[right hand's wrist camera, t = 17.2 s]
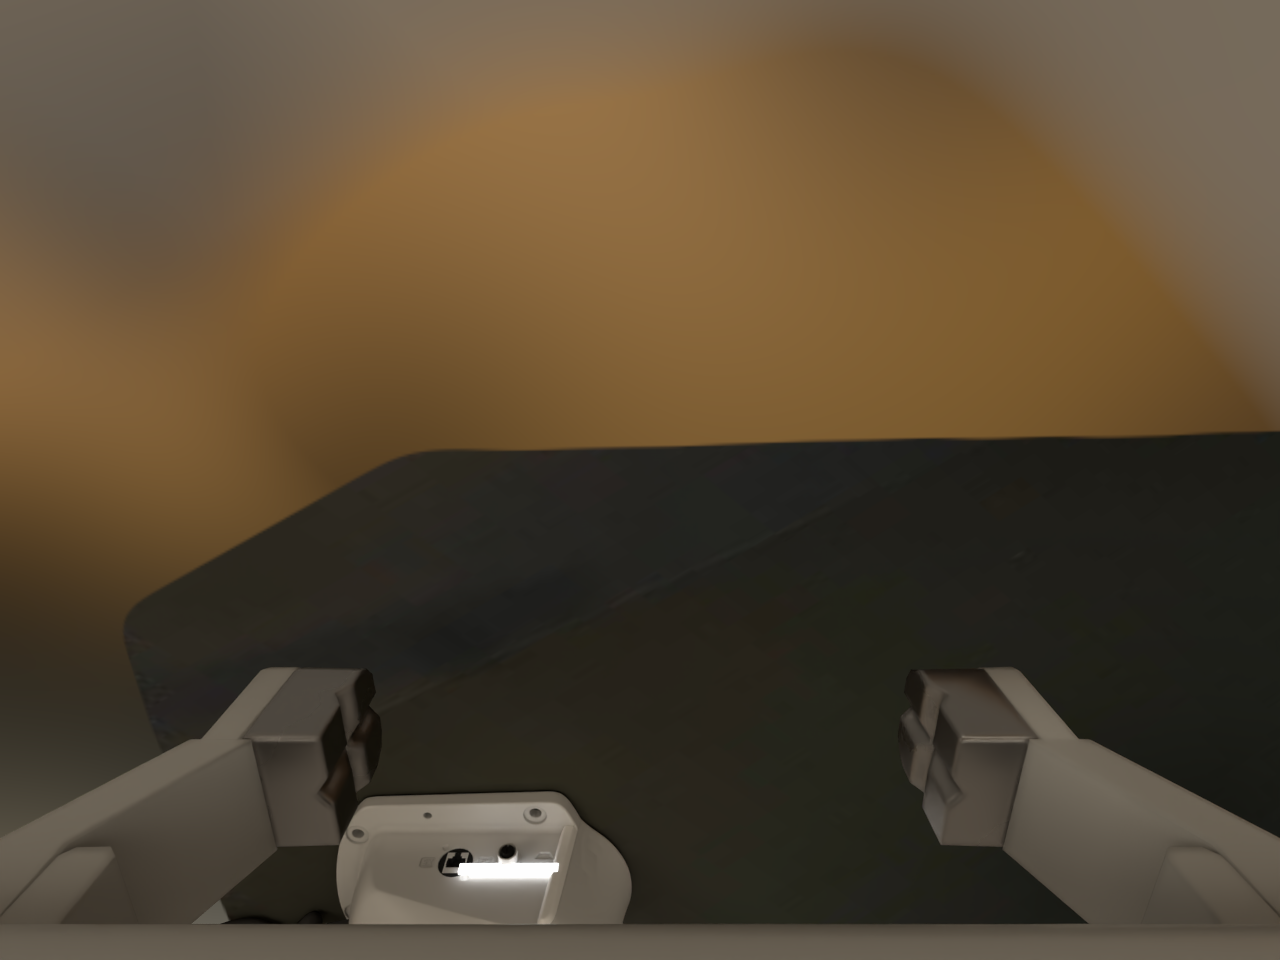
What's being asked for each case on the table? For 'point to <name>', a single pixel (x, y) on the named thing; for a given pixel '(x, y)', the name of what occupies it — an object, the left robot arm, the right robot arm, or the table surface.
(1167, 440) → the table surface
